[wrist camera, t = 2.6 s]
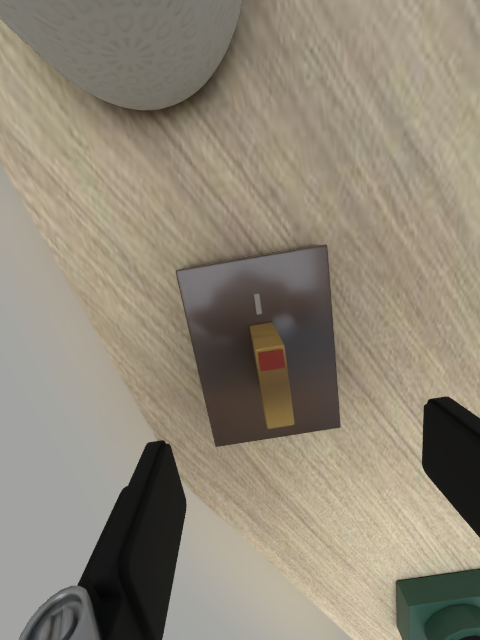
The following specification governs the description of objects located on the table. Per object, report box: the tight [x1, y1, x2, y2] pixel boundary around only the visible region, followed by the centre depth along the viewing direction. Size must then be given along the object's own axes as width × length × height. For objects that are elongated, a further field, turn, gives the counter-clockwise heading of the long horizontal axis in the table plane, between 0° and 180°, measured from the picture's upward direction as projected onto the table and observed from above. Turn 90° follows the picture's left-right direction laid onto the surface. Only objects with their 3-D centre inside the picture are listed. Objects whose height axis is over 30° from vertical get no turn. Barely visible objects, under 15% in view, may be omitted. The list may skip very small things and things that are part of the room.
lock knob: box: [250, 322, 294, 429], centre depth 16 cm, size 5×2×5 cm, turn 9°
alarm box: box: [397, 569, 480, 640], centre depth 28 cm, size 10×8×4 cm
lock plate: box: [176, 245, 340, 447], centre depth 20 cm, size 14×10×3 cm
